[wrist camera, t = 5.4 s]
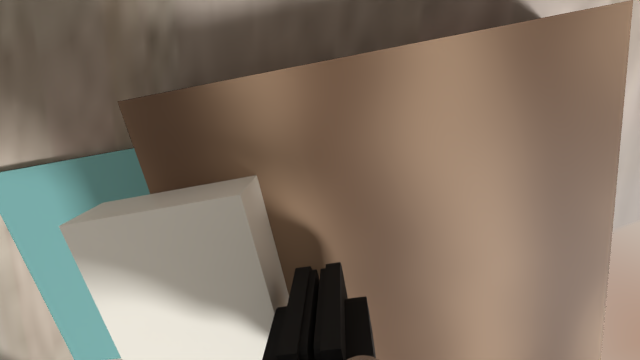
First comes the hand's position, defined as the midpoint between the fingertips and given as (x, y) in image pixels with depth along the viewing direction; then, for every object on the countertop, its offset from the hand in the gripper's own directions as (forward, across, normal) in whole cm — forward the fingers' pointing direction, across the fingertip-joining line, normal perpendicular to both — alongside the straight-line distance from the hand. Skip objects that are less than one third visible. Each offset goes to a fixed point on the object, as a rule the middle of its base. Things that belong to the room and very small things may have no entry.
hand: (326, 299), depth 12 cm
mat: (+5, +11, 0) cm, 12 cm away
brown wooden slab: (+5, -2, -1) cm, 5 cm away
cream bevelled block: (+1, +5, 0) cm, 5 cm away
